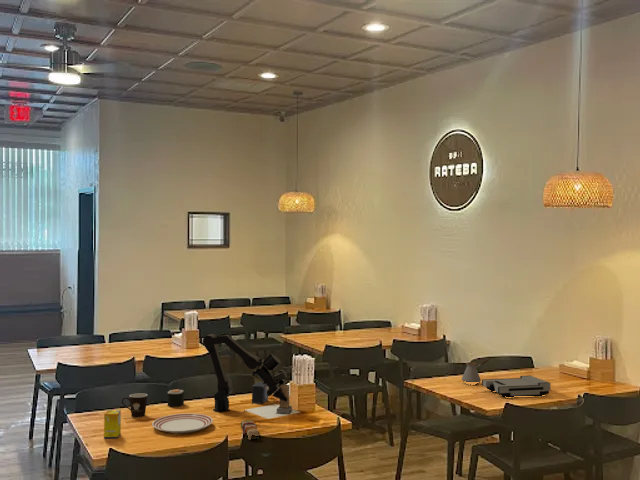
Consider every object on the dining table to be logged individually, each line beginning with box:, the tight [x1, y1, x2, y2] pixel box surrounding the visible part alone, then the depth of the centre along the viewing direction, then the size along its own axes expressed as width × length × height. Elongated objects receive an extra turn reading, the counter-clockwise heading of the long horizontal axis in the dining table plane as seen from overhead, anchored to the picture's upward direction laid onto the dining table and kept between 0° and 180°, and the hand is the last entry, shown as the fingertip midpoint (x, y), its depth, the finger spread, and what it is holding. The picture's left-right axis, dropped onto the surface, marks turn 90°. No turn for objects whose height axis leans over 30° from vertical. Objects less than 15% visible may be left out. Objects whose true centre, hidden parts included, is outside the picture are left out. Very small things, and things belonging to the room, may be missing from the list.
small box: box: [251, 381, 269, 405], centre depth 344 cm, size 11×6×10 cm, turn 168°
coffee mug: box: [121, 392, 148, 418], centre depth 317 cm, size 12×9×10 cm
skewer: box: [240, 420, 260, 441], centre depth 289 cm, size 21×6×5 cm, turn 16°
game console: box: [481, 375, 552, 397], centre depth 373 cm, size 21×32×8 cm, turn 103°
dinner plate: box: [151, 412, 214, 434], centre depth 297 cm, size 27×27×3 cm
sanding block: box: [277, 383, 293, 413], centre depth 323 cm, size 8×6×13 cm
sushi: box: [167, 388, 185, 408], centre depth 338 cm, size 8×8×8 cm
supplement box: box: [103, 409, 122, 440], centre depth 282 cm, size 6×6×11 cm
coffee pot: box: [461, 357, 493, 383], centre depth 400 cm, size 21×12×15 cm, turn 115°
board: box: [243, 403, 301, 420], centre depth 323 cm, size 20×21×1 cm
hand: (287, 399), depth 322 cm, fingers closed on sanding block, 4 cm apart
